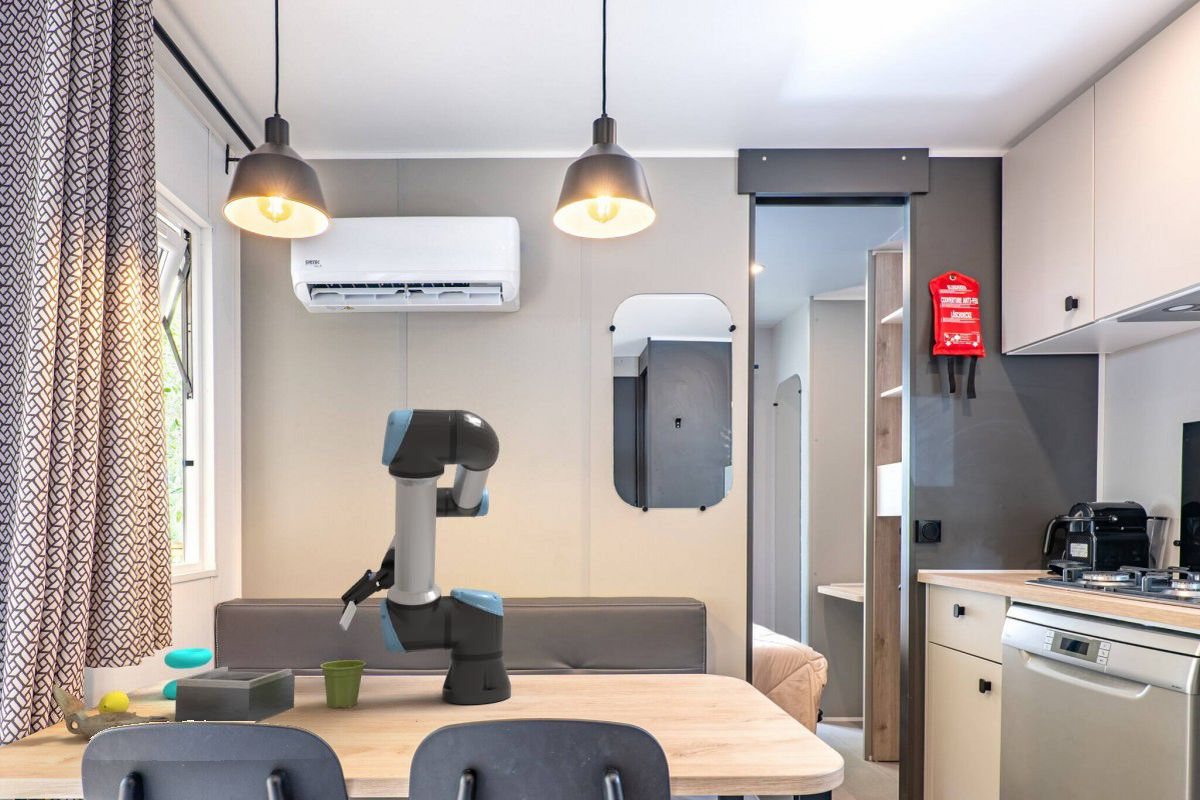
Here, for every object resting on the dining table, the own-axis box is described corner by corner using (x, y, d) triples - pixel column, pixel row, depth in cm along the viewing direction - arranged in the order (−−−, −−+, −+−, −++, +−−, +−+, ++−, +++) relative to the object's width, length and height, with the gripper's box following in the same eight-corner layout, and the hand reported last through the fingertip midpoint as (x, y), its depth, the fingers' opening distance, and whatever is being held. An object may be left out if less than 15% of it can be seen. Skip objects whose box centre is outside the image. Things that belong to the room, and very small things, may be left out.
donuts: (157, 651, 192) (201, 645, 199) (155, 696, 190) (199, 688, 198) (175, 656, 185) (219, 649, 193) (173, 702, 184) (218, 694, 191)
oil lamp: (62, 733, 160) (66, 679, 161) (178, 728, 162) (180, 675, 163) (36, 746, 151) (40, 689, 152) (158, 740, 153) (161, 684, 155)
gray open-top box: (293, 707, 177) (294, 667, 178) (248, 725, 162) (249, 682, 163) (213, 703, 182) (215, 665, 183) (162, 721, 167) (164, 679, 168)
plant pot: (346, 698, 184) (347, 658, 186) (374, 703, 179) (374, 662, 180) (310, 707, 177) (311, 665, 178) (338, 712, 171) (338, 669, 173)
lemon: (108, 717, 174) (111, 690, 175) (134, 716, 174) (137, 689, 175) (89, 721, 167) (92, 692, 168) (116, 720, 167) (119, 692, 168)
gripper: (451, 567, 206) (423, 639, 189) (361, 567, 212) (327, 636, 195) (442, 546, 201) (413, 618, 185) (350, 547, 207) (314, 616, 191)
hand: (368, 628), depth 190 cm, fingers open, 13 cm apart
